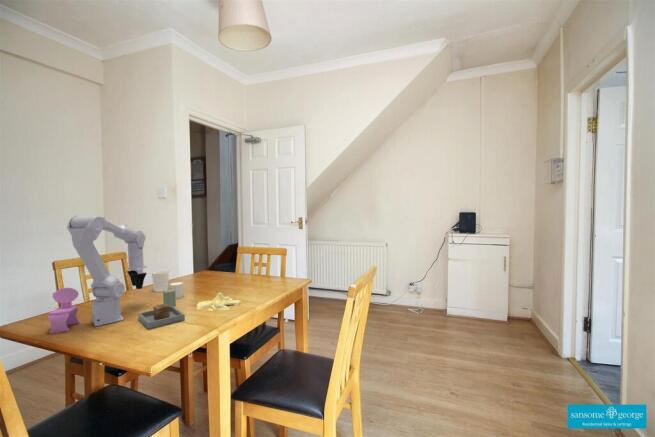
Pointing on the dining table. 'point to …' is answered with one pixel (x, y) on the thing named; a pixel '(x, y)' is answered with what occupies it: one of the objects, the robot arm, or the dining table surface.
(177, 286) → the shot glass
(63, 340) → the dining table surface
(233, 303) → the cloth
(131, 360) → the dining table surface
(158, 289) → the white cup
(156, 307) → the short block
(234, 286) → the dining table surface
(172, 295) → the tall block
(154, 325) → the tray
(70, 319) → the toy chair
